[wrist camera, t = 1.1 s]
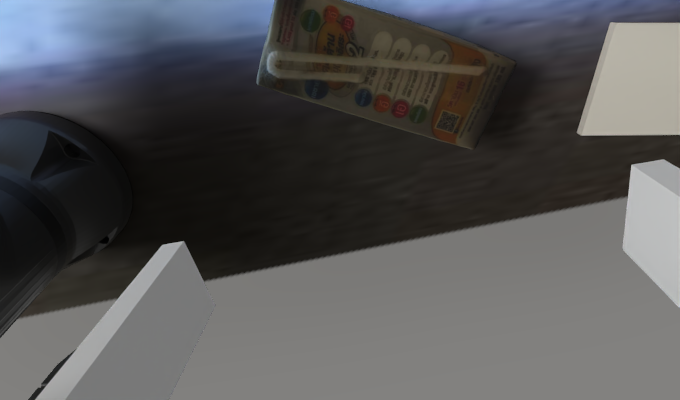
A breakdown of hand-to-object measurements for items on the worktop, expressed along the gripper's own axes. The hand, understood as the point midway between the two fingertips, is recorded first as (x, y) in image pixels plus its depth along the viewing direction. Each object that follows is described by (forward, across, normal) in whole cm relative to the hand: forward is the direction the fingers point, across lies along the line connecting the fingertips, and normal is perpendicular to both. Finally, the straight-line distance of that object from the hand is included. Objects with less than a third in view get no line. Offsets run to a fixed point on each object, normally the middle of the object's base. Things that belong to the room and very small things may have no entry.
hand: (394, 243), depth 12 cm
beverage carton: (+27, 0, +1) cm, 27 cm away
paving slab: (+30, +26, -7) cm, 40 cm away
